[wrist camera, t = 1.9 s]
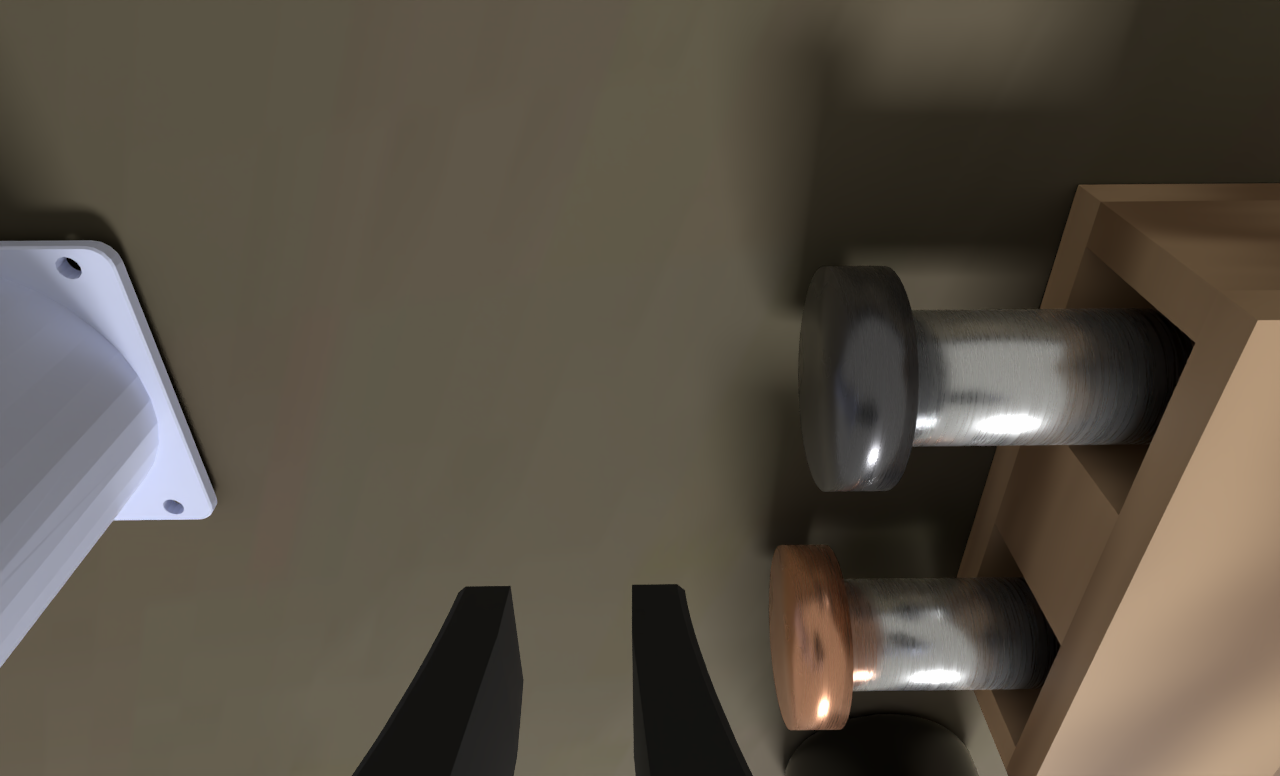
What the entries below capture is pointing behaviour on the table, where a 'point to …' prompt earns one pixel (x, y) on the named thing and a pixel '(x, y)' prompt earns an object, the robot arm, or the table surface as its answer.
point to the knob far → (895, 635)
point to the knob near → (968, 376)
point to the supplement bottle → (883, 750)
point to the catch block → (1155, 508)
